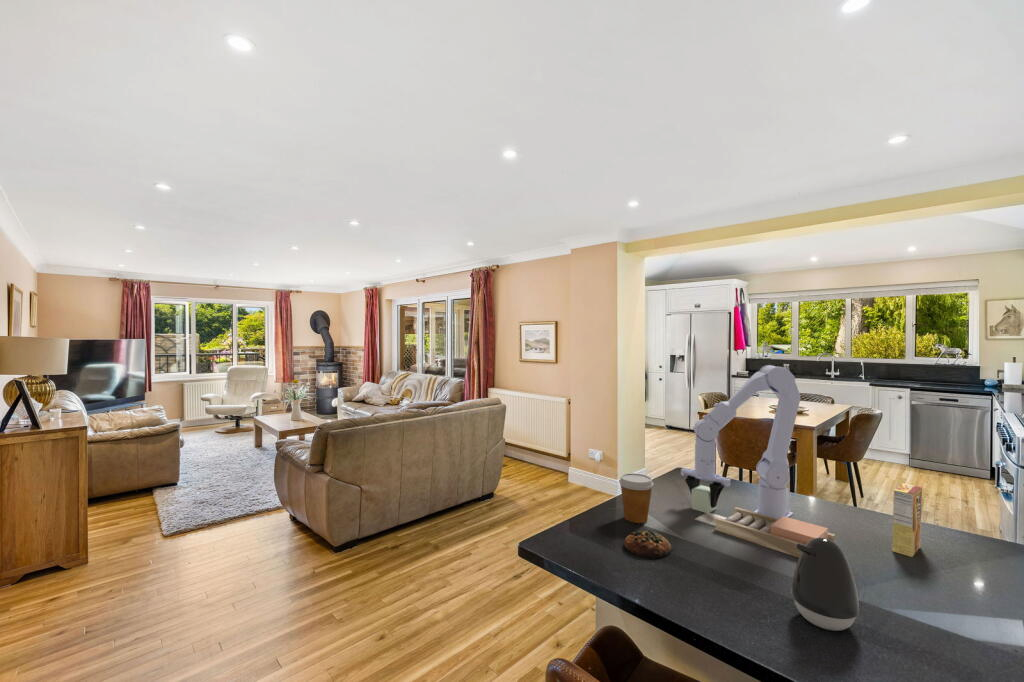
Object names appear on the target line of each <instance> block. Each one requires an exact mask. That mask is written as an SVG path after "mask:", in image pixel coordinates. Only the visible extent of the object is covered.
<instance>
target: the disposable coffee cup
mask: <svg viewBox="0 0 1024 682" xmlns="http://www.w3.org/2000/svg"><path fill="white" fill-rule="evenodd" d="M618 482H619V484H620V491H621V497H622V509H623V517H624V518H625V519H626V520H628V521H630V522H634V523H643V524H646V523H647V522H648V517H649V512H650V511H649V510H650V504H651V497H652V491H653V487H654V482H653V478H652V477H651V476H649V475H646V474H642V473H635V472H633V473H632V472H631V473H624V474H621V476H620V479H619V480H618ZM625 519H624V520H625ZM626 520H625V521H626ZM628 521H627V522H628ZM630 522H629V523H630ZM645 522H646V523H645ZM634 523H633V524H634Z"/></svg>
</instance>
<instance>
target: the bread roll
mask: <svg viewBox="0 0 1024 682" xmlns="http://www.w3.org/2000/svg"><path fill="white" fill-rule="evenodd" d="M623 543H624V544H623V545H624V547H625V549H626V550H628V551H629V552H630V551H631V552H630V553H632V554H634V553H635V554H634V555H636V554H638V555H639V556H638V555H637V556H638V557H642V556H643V557H644V558H647V559H652V558H653V560H654V559H660V558H664V557H666V556H668V554H669V553H670V552H671V549H672V545H671V543H670V542H669V541H668V539H667V538H666V537H664V536H663V535H661V534H660V533H658V532H654V531H651V530H641V531H640V530H636V531H633V532H631V533H630V534H629V535H627V536H626V537H625V540H624V542H623Z"/></svg>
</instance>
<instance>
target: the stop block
mask: <svg viewBox="0 0 1024 682" xmlns="http://www.w3.org/2000/svg"><path fill="white" fill-rule="evenodd" d="M691 509H692V510H695V511H698V512H702V513H704V514H705V513H713V511H716V510H718V504H717V505H716V507H714V508H712V507H711V492H710V487H709V486H706V485H703V484H699V486H698V487H695V488H693V489H692V495H691Z"/></svg>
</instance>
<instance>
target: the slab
mask: <svg viewBox="0 0 1024 682" xmlns="http://www.w3.org/2000/svg"><path fill="white" fill-rule="evenodd" d="M828 533H829V528H828V527H825V526H821V525H816V524H814V523H809V522H805V521H803V520H802V521H801V520H799V519H795V518H791V517H789V518H788V517H784V516H783V517H782V518H780V519H779V520H777V521H776V522H774V523H773V524H772V525H771V534H774V535H777V536H780V537H783V538H787V539H790V540H793V541H797V542H800V543H803V544H806V545H807V544H808V542H809V541H811V540H812V539H814V538H820V537H821V538H827V539H828Z"/></svg>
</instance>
